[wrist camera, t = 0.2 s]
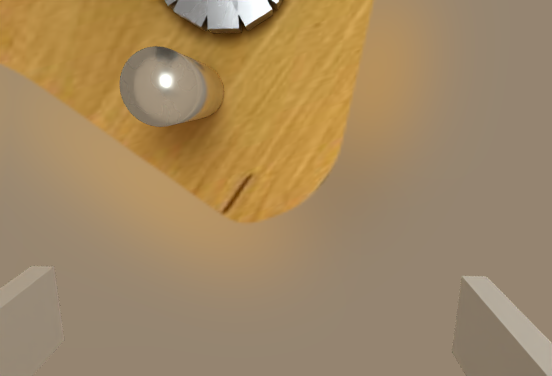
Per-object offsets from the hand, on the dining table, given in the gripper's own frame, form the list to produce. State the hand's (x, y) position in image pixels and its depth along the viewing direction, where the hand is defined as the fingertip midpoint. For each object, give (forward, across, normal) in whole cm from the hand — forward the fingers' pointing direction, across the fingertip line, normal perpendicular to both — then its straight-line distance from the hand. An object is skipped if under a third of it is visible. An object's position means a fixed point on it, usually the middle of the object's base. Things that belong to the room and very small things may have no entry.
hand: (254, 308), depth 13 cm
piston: (+27, -8, +6) cm, 29 cm away
